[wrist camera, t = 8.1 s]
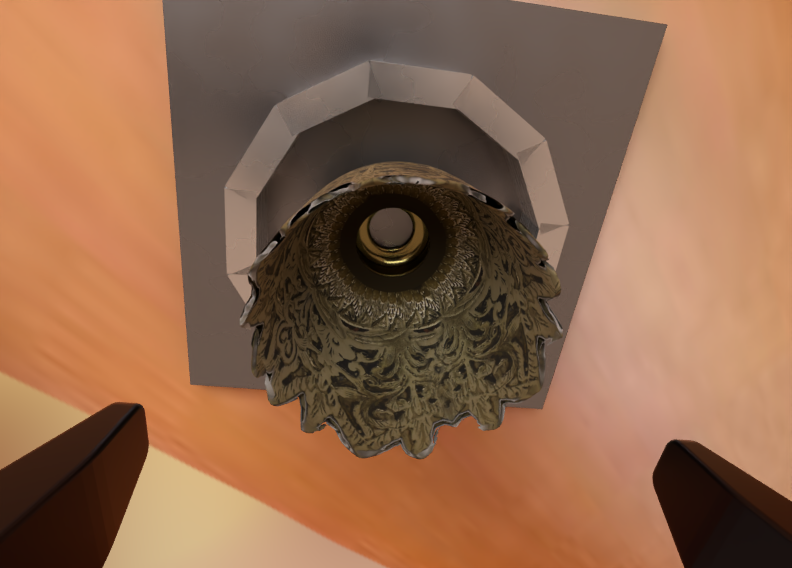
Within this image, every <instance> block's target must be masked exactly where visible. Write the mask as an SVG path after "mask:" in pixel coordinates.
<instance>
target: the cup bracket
mask: <svg viewBox="0 0 792 568" xmlns="http://www.w3.org/2000/svg"><path fill="white" fill-rule="evenodd" d="M163 13H164V27H165V41H166V55H167V68H168V82H169V96H170V110H171V123H172V137H173V151H174V165H175V178H176V192H177V206H178V220H179V233H180V247H181V261H182V275H183V288H184V302H185V316H186V330H187V343H188V357H189V371H190V384H191V385H205V386H219V387H234V388H248V389H262V390H266V387H265V383H264V381H265V377H266V374H265V376H264V377H262V376H260V377H259V378H256V377H254V375H253V374H252V370H251V357H252V346H251V339H252V335H253V332H254V331H255V327H253V328H251V330H249V329H246V328H242V327H241V326H240V323H239V321H240V317H241V314H242V312H243V309H244V306H245V304H246V302H247V301H248V300H249V298H250V296H251V289H252V288H251V285H250V284H249V282H248V273H249V270H250V268H251V266H252V265H253V263H254V261H255V259H256V258H257V257H258V255H259V254H260V253H261V252H262V250H263V249H264V248H265V247H266V246H267V245H268V244H269V242H270V241H271V240H272V239H273V237H274V236H275V235H276V234H277V233H278V230H279V229H280V228H281V227H282V226H283V225H284V224H285V223H286V222H287V220H288V219H289V218H291V217H292V216H293V215H294V214H295V213H296V212H297V211H298V210H299V209H300V208H302V207H303V206H304V205H305V204H306V203H307V202H308V201H309V200H310V199H311V198H312V197H313V196H314V195H315V194H317V193H318V192H319V191H320V190H321V189H322V188H324V187H325V186H326V185H328V184H329V183H331V182H332V181H334V180H335V179H337V178H338V177H340V176H342V175H344V174H346V173H348V172H350V171H353V170H355V169H358V168H361V167H363V166H367V165H371V164H375V163H383V162H411V163H418V164H423V165H427V166H431V167H434V168H437V169H440V170H442V171H445V172H447V173H449V174H451V175H453V176H455V177H457V178H459V179H461V180H463V181H464V182H466V183H468V184H469V185H471V186H473V187H474V188H476V189H477V190H479V191H481V192H482V193H484V194H486V195H488V196H490V197H492V198H494V199H495V200H497V201H498V202H500V203H502V204H503V205H505V206H506V207H507V208H509V209H510V210H511V211H513V212H514V215H512V216H513V217H514V218H515V219H516V220H518V221H520V222H521V223H523V224H524V225H525V226H526V228H527V229H528V230H529V231H530V233H531V234H532V235H533V237H534V238H535V239H536V240H537V241H538V242H539V243H540V244H541V245H542V246H543V248H544V249H545V250H546V252H547V253H548V259H549V260H547V261H546V262H548V263H549V264H550V265H551V266H553V267H554V269H555V271H556V273H557V275H558V278H559V280H560V285H561V294H560V297H557V298H553V299H552V300H549V301H547V303H548V304H549V306H550V308H551V310H552V312H553V313H554V315H555V316H556V317H557V319H558V320H559V322H560V324H561V325H562V328H563V337H562V338H560V339H559V340H557V341H555V342H553V343H552V344H549V345H548V346H547V344H548V343H549V342H551V339H548V340H546V342H545V358H546V363H545V377H544V383H543V387H542V389H541V390H540V392H538V393H536V394H535V395H533V396H532V397H531V398H529V399H527V400H525V401H523V402H521V403H517V404H512V403H509V404H505V407H519V408H534V409H542V408H543V405H544V402H545V399H546V396H547V393H548V390H549V387H550V384H551V381H552V378H553V375H554V372H555V368H556V365H557V362H558V359H559V356H560V353H561V350H562V347H563V344H564V341H565V338H566V335H567V332H568V329H569V325H570V322H571V319H572V316H573V313H574V310H575V307H576V304H577V301H578V298H579V295H580V292H581V289H582V286H583V282H584V279H585V276H586V273H587V270H588V267H589V264H590V261H591V258H592V255H593V252H594V249H595V246H596V243H597V239H598V236H599V233H600V230H601V227H602V224H603V221H604V218H605V215H606V212H607V209H608V206H609V203H610V200H611V196H612V193H613V190H614V187H615V184H616V181H617V178H618V175H619V172H620V169H621V166H622V163H623V160H624V157H625V153H626V150H627V147H628V144H629V141H630V138H631V135H632V132H633V129H634V126H635V123H636V120H637V117H638V114H639V110H640V107H641V104H642V101H643V98H644V95H645V92H646V89H647V86H648V83H649V80H650V77H651V74H652V71H653V67H654V64H655V61H656V58H657V55H658V52H659V49H660V46H661V43H662V40H663V37H664V34H665V31H666V28H667V24H660V23H654V22H647V21H641V20H635V19H628V18H622V17H615V16H609V15H602V14H596V13H589V12H583V11H576V10H570V9H564V8H557V7H551V6H544V5H538V4H531V3H525V2H518V1H512V0H163ZM412 230H413V225H412V221H411V219H410V217H409V215H408V214H407V213H406V212H404V211H403V210H401V209H399V208H386V209H382V210H380V211H378V212H377V213H376V214H375V215H374V216H373V218H372V220H371V222H370V234H371V236H372V238H373V240H374V241H375V242H376V243H377V244H378V245H380V246H382V247H385V248H397V247H400V246H402V245H404V244H405V243H406V242H407V241H408V240H409V238H410V237H411V234H412Z"/></svg>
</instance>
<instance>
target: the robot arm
mask: <svg viewBox="0 0 792 568" xmlns="http://www.w3.org/2000/svg"><path fill="white" fill-rule="evenodd" d="M148 448H149V440H148V432H147V424H146V416H145V410H144V408H143V406H142V405H140V404H138V403H124V402H116V403H113V404H111V405H109V406H107V407H105V408H104V409H102V410H100V411H99V412H97V413H95V414H94V415H92V416H90V417H89V418H87V419H85V420H84V421H82V422H80V423H78V424H77V425H75V426H73V427H72V428H70V429H68V430H67V431H65V432H63V433H62V434H60V435H58V436H57V437H55V438H53V439H51V440H50V441H48V442H46V443H45V444H43V445H42V446H40V447H38V448H36V449H35V450H33V451H31V452H30V453H28V454H26V455H25V456H23V457H21V458H20V459H18V460H16V461H14V462H13V463H11V464H10V465H8V466H6V467H4V468H3V469H1V470H0V568H102V567H103V565H104V563H105V561H106V559H107V557H108V555H109V552H110V550H111V548H112V545H113V543H114V541H115V538H116V536H117V533H118V530H119V528H120V525H121V523H122V520H123V517H124V515H125V512H126V509H127V507H128V504H129V501H130V499H131V496H132V494H133V491H134V488H135V486H136V483H137V481H138V478H139V475H140V473H141V470H142V468H143V465H144V462H145V459H146V457H147V453H148ZM653 486H654V489H655V492H656V494H657V497H658V499H659V502H660V505H661V507H662V510H663V513H664V515H665V518H666V521H667V523H668V526H669V529H670V531H671V534H672V537H673V539H674V542H675V545H676V547H677V550H678V553H679V555H680V558H681V560H682V563H683V565H684V568H792V501H790V500H788V499H787V498H785V497H784V496H782V495H780V494H779V493H777V492H776V491H774V490H773V489H771V488H769V487H768V486H766V485H765V484H763V483H761V482H760V481H758V480H757V479H755V478H754V477H752V476H750V475H749V474H747V473H746V472H744V471H742V470H741V469H739V468H738V467H736V466H735V465H733V464H731V463H730V462H728V461H727V460H725V459H723V458H722V457H720V456H719V455H717V454H716V453H714V452H712V451H711V450H709V449H708V448H706V447H704V446H703V445H701V444H700V443H698V442H695V441H691V440H677V439H675V440H671V441H670V442H669V443H667V445H666V447H665V449H664V451H663V453H662V455H661V457H660V459H659V461H658V463H657V465H656V467H655V469H654V472H653Z"/></svg>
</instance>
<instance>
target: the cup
mask: <svg viewBox="0 0 792 568" xmlns="http://www.w3.org/2000/svg"><path fill="white" fill-rule="evenodd" d="M386 208H399V209H401V210H403V211H404V212H406V213H407V214H408V215H409V217H410V219H411V221H412V225H413V230H412V234H411V237H410V238H409V240H408V241H407V242H406V243H405V244H404V245H402V246H400V247H397V248H385V247H382V246H380V245H378V244H377V243H376V242H375V241H374V240H373V238H372V236H371V234H370V222H371V220H372V218H373V216H374V215H375V214H376V213H377V212H378V211H380V210H382V209H386ZM512 215H514V212H513V211H511V210H510V209H509V208H507V207H506V206H505V205H503V204H502V203H500V202H498V201H497V200H495V199H494V198H492V197H490V196H488V195H486V194H484V193H482V192H481V191H479V190H477V189H476V188H474V187H473V186H471V185H469V184H468V183H466V182H464V181H463V180H461V179H459V178H457V177H455V176H453V175H451V174H449V173H447V172H445V171H442V170H440V169H437V168H434V167H431V166H427V165H423V164H418V163H411V162H383V163H375V164H371V165H367V166H363V167H361V168H358V169H355V170H353V171H350V172H348V173H346V174H344V175H342V176H340V177H338V178H337V179H335V180H334V181H332V182H331V183H329V184H328V185H326V186H325V187H324V188H322V189H321V190H320V191H319V192H318V193H317V194H315V195H314V196H313V197H312V198H311V199H310V200H309V201H308V202H307V203H306V204H305V205H304V206H303V207H302V208H300V209H299V210H298V211H297V212H296V213H295V214H294V215H293V216H292V217H291V218H289V219H288V220H287V222H286V223H285V224H284V225H283V226H282V227H281V228H280V229H279V230H278V233H277V234H276V235H275V236H274V237H273V239H272V240H271V241H270V242H269V244H268V245H267V246H266V247H265V248H264V249H263V250H262V252H261V253H260V254H259V255H258V257H257V258H256V259H255V261H254V263H253V265H252V266H251V268H250V270H249V273H248V282H249V284H250V285H251V288H252V289H251V296H250V298H249V300H248V301H247V302H246V304H245V306H244V309H243V312H242V314H241V317H240V321H239V323H240V326H241V327H242V328H246V329H249V330H251V328H253V327H255V331H254V332H253V335H252V339H251V346H252V357H251V370H252V374H253V375H254V377H256V378H259V377H260V376H262V377H264V376H265V374H266V377H265V381H264V383H265V387H266V391H267V395H268V400H269V402H270V404H271V405H273V406H281V405H284V404H287V403H289V402H292V401H294V400H296V399H298V398H297V397H299V399H300V406H301V430H302V431H303V432H305V433H314V432H315V431H320V430H322V429H324V427H325V426H326V424H328V425H329V426H330V427H332V428H333V429H334V430H335V431H336V433H337V435H338V437H339V439H340V441H341V442H342V444H343V445H344V446H345V447H346V448H347V449H348V450H349V451H351V452H352V453H353V454H355V455H356V456H357V457H359V458H368V457H373V456H376V455H379V454H381V453H383V452H385V451H388V450H390V449H391V448H393V447H395V446H398V445H400V444H401V447H402V449H403V450H404V451H405V453H406V454H407V455H409V456H411V457H413V458H416V459H424V458H426V457H427V456H428V455H429V454H430V453H431V452H432V451H433V447H434V446H435V444H436V443H435V442H436V440H437V437H436V436H437V434H438V430H439V429H440V428H439V429H437V430H436V432H435V429H436V428H438V427H440V426H443V425H449V426H452V427H457V426H458V425H459V423H460V422H461V420H462V419H463V418H466V417H469V416H473V417H474V418H475V419H476V420H477V423H478V424H479V425H480V426H479V427H478V428H479V429H481V430H483V431H486V430H494V429H497V428H498V427H500V425H501V423H502V421H503V419H504V413H505V404H509V403H512V404H517V403H521V402H523V401H525V400H527V399H529V398H531V397H532V396H533V395H535V394H536V393H538V392H540V390H541V389H542V387H543V383H544V377H545V363H546V358H545V342H546V340H548V339H551V342H549V343H548V344H547V346H548V345H549V344H552V343H553V342H555V341H557V340H559V339H560V338H562V337H563V328H562V325H561V324H560V322H559V320H558V319H557V317H556V316H555V315H554V313H553V312H552V310H551V308H550V306H549V304H548V303H547V301H549V300H552V299H553V298H557V297H560V294H561V285H560V280H559V278H558V275H557V273H556V271H555V269H554V267H553V266H551V265H550V264H549V263H548V262H546V261H547V260H549V259H548V253H547V252H546V250H545V249H544V248H543V246H542V245H541V244H540V243H539V242H538V241H537V240H536V239H535V238H534V237H533V235H532V234H531V233H530V231H529V230H528V229H527V228H526V226H525V225H524V224H523V223H521V222H520V221H518V220H516V219H515V218H514V217H513V216H512ZM463 420H464V419H463ZM323 422H327V423H326V424H323V425H321V424H322V423H323ZM434 432H435V435H434ZM433 435H434V439H433ZM433 440H434V443H433Z"/></svg>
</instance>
